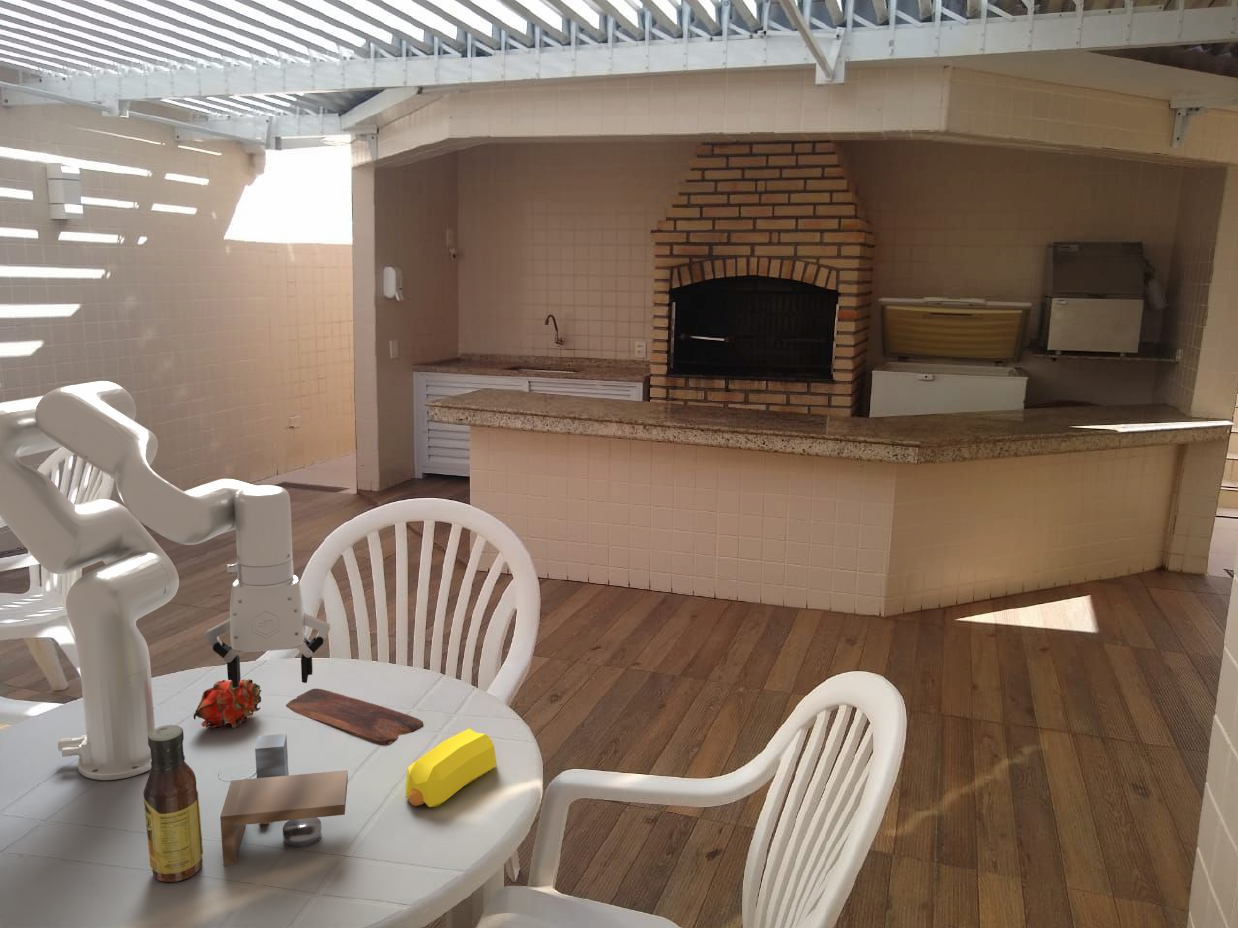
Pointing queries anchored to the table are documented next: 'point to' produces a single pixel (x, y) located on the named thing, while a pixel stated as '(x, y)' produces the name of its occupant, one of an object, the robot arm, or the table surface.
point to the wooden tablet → (354, 715)
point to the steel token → (301, 832)
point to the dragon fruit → (228, 703)
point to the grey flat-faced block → (271, 756)
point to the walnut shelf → (279, 803)
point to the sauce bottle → (172, 808)
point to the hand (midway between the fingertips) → (271, 681)
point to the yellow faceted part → (449, 768)
